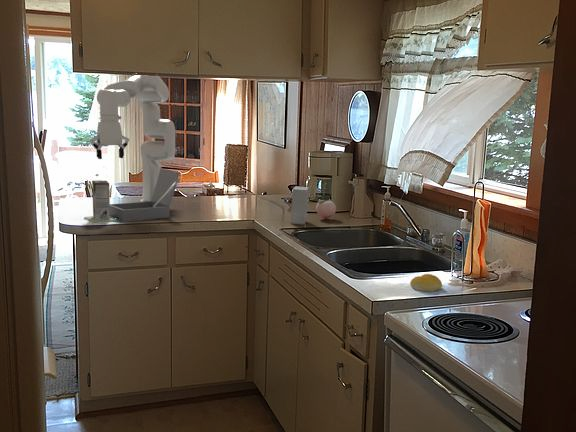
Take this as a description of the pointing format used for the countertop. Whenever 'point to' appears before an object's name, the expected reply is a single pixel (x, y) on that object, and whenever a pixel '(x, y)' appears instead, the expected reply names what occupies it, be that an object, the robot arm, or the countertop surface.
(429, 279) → the bread roll
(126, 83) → the robot arm
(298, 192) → the skincare box
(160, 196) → the case
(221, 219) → the countertop surface
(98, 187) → the coffee box
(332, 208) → the decorative fruit
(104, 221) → the mat
